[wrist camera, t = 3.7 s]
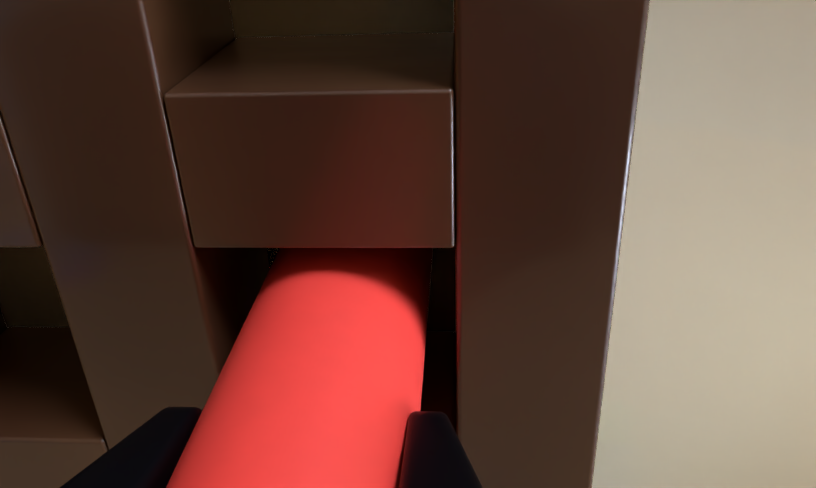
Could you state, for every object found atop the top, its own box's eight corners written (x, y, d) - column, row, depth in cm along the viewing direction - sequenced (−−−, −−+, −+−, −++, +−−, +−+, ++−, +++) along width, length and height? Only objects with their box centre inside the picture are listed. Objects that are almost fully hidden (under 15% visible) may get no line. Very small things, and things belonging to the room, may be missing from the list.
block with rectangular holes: (638, -472, 8) (728, -646, 5) (562, 416, 14) (585, 548, 11) (-410, -390, 9) (-788, -498, 6) (-55, 403, 15) (-169, 522, 12)
